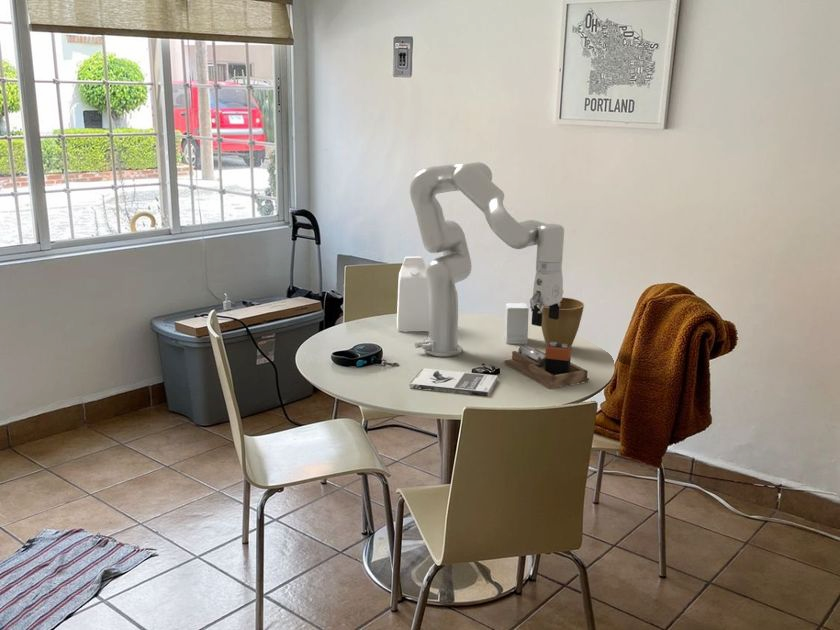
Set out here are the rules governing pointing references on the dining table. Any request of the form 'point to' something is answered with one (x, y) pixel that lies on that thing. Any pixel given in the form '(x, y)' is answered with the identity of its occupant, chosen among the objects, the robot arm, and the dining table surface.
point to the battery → (557, 358)
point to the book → (454, 382)
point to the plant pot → (562, 322)
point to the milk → (413, 296)
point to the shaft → (532, 354)
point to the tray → (542, 376)
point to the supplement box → (516, 323)
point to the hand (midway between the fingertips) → (545, 322)
